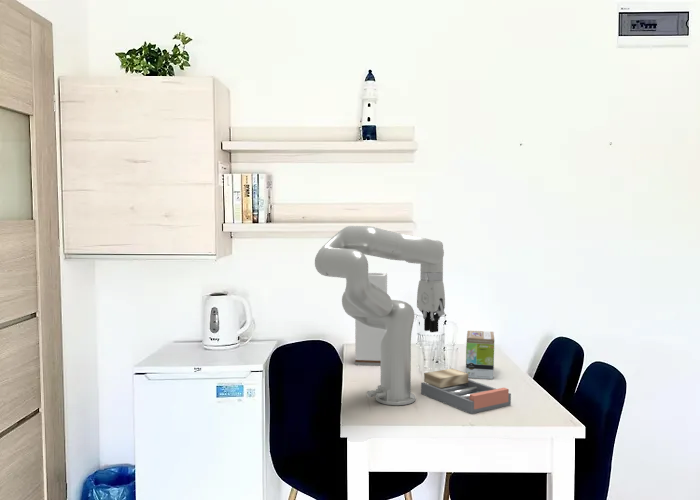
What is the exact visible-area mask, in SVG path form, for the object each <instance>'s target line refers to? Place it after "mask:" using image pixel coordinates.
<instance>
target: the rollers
mask: <svg viewBox="0 0 700 500" xmlns="http://www.w3.org/2000/svg"><path fill="white" fill-rule="evenodd" d="M429 385H430V384H429ZM432 386H433V385H432ZM435 387H436V386H435ZM437 388H438V387H437ZM440 389H442V390H445V391H448V392H450V393H453V394H456V395H458V396H460V395H461V397H464V398H466V399H469V400H470V394H474V393H479V392H478V391H479V389H478V387H477V386H475V387H470V388H468V384H467V383H464V384H458V385H453V386H448V387H443V388H440ZM485 391H488V390H485ZM480 392H484V391H480Z"/></svg>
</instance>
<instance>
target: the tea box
mask: <svg viewBox="0 0 700 500" xmlns="http://www.w3.org/2000/svg"><path fill="white" fill-rule="evenodd" d="M494 333H495V332H494V331H485V330H467V334H466V343H465V344H466V346H465V373H468V379H469V378H470V379H480V380H481V379H482V380H484V379H485V380H494V368H495V367H494V366H495V335H494Z"/></svg>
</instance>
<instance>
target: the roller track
mask: <svg viewBox="0 0 700 500" xmlns="http://www.w3.org/2000/svg"><path fill="white" fill-rule="evenodd" d="M467 384H468V388H470V387H475V386H477V387H478V389H479V391H478V392H480V391H485V390H488V391H489V390H494V389H496V387H492V386H489V385H487V384H483V383H480V382H478V381H474V380H472V379H469V378H468V383H467ZM420 388H421V389H420V390H421V395H424V396H426V397H428V398H431V399H434V400H436V401H438V402H441V403H444V404H445V405H448V406H450V407H453V408H455V409H458V410H461V411H463V412H465V413H467V414H471V415H473V414H478V413H482V412H487V411H491V410H495V409H500V408H505V407H508V406H511V405H512V393H510V392H509V396H508V402H506V403H501V404H497V405H492V406H488V407H483V408H479V409H474V401H472V400H469V399H466V398H464V397H461V395H460V396H458V395H456V394H453V393H450V392H448V391H445V390H442V389H440V388H437V387H435V386H432V385H429V384H428V383H425V382H421V384H420Z"/></svg>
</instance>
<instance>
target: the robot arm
mask: <svg viewBox="0 0 700 500" xmlns="http://www.w3.org/2000/svg"><path fill="white" fill-rule="evenodd" d="M444 251H445V250H444V243H443V242H442V241H440V240H433V239H429V238H424V237H420V236H414V235H409V234H405V233H400V232H394V231H391V230H387V229H382V228H378V227H375V226H367V225H348V226H345V227H344V228H342V229H341V230H339V231H338V232H337V233H335V234H334V235H333V236H332V237H331V238H330V239H329V240H328V241H327V242H326V243H324V245H323V246H322V247H320V249H319V250H318V251H317V253H316V255H315V257H314V258H315V259H314V267H315V269H316V271H317V272H318V274H320V275H321V276H325V277H331V278H340V279H341V278H342V279H345V282H346V284H345V289H344V292H343V294H342V296H341V305H342V308H343V310H344V312H345V313H346V314H347V315H348V316H349V317H351V318H353V319H354V320H355V319H356V320H358V321H359V322H361V323H363V324H365V325H367V326H369V327H374V328H380V329H385V330H387V332H386V334H385V335H384V337H383V339H382V341H381V350H380V351H381V366H380V385H377V388H376V389H374V390H367V393H366V396H367V397H368V398H372V397H375V400H376V401H377V402H378V403H380V404H383V405H387V406H405V405H410V404H412V403H414V402H416V395H415V394H414V393H412V391H411V390H412V389H411V387H412V386H411V385H412V383H411V382H412V381H411V380H412V379H411V377H412V374H411V371H412V370H411V369H412V368H411V366H412V365H411V363H412V348H411V347H412V334H413V333H412V331H413V326H414V322H415V321H414V320H415V311H414V308H413V306H412V305H411V304H409V303H408V302H406V301H403V300H398V299H392V298H391V297H390V295H389V293H388V292H387V293H386V292H385V291H383V290H382V289H380V288H379V287H377V286H376V285H374V284H373V283H371V282H370V281H369V277H368V273H369V262H368V258H367V256H371V257H377V258H382V259H387V260H393V261H398V262H399V261H402V262H403V261H404V262H406V263H409V264H420V271H419V273H420V280H419V281H418V287H417V292H416V293H417V294H416V307H417V309H418V311H420V313H421V314H422V315H423V316H422V318H423V320H424V322H423V323H424V324H423V325H424V326H423V330H424V331H425V332H428V331H429V332H430V333H437V332H439V321H440V318H441V317H442V316H444V315H445V308H446V306H445V305H446V297H445V285H444V278H443V277H444V255H445V252H444Z"/></svg>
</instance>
